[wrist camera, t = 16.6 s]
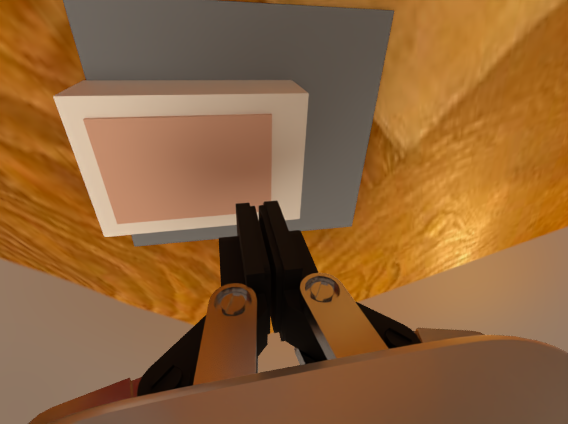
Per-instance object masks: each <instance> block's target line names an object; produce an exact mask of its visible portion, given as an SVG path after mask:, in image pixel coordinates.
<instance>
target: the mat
mask: <svg viewBox="0 0 568 424" xmlns="http://www.w3.org/2000/svg"><path fill="white" fill-rule="evenodd" d="M63 2H64V6H65V9H66V12H67V16H68V19H69V23H70V26H71V30H72V33H73V36H74V40H75V43H76V47H77V50H78V54H79V57H80V60H81V64H82V67H83V71H84V74H85V78H86V80H292V81H294V82H295V83H296V84H298V85H299V86H300V87H301V88H303V89H304V90H305V91H306V92H308V93H309V98H308V111H307V125H306V139H305V153H304V167H303V181H302V194H301V208H300V219H294V220H285V222H286V224H287V227H288V230H289V231H294V230H300V231H306V230H317V229H327V228H338V227H349V226H352V222H353V217H354V212H355V207H356V202H357V196H358V191H359V186H360V181H361V176H362V171H363V166H364V161H365V156H366V151H367V146H368V141H369V136H370V131H371V126H372V121H373V116H374V111H375V106H376V101H377V96H378V90H379V85H380V80H381V75H382V70H383V65H384V60H385V55H386V50H387V45H388V40H389V35H390V30H391V25H392V20H393V15H394V11H392V10H375V9H357V8H339V7H322V6H304V5H287V4H269V3H251V2H234V1H216V0H63ZM231 236H237V225H229V226H218V227H208V228H197V229H186V230H175V231H164V232H154V233H143V234H132V239H133V242H134V246H145V245H155V244H166V243H177V242H188V241H198V240H209V239H219V238H221V237H231Z"/></svg>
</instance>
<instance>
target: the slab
mask: <svg viewBox="0 0 568 424" xmlns="http://www.w3.org/2000/svg"><path fill="white" fill-rule="evenodd" d="M53 97H54V100H55V103H56V106H57V108H58V111H59V114H60V117H61V119H62V122H63V125H64V128H65V130H66V133H67V136H68V138H69V141H70V144H71V147H72V149H73V152H74V155H75V158H76V160H77V163H78V166H79V168H80V171H81V174H82V177H83V179H84V182H85V185H86V188H87V190H88V193H89V196H90V199H91V201H92V204H93V207H94V209H95V212H96V215H97V218H98V220H99V223H100V226H101V229H102V231H103V234H104V237H110V236H121V235H132V234H143V233H154V232H164V231H175V230H186V229H197V228H208V227H218V226H229V225H237V223H236V204H237V203H250V206H255V208H256V212H257V216H258V220H259V205H263V203H264V201H278V203H279V206H280V208H281V211H282V214H283V216H284V219H285V220H294V219H300V208H301V194H302V181H303V167H304V153H305V139H306V125H307V111H308V98H309V93H308V92H306V91H305V90H304V89H303V88H301V87H300V86H299V85H298V84H296V83H295V82H294V81H292V80H83V81H81V82H79V83H77V84H75V85H74V86H72V87H70V88H68V89H66V90H64V91H62V92H60V93H58V94H57V95H55V96H53Z"/></svg>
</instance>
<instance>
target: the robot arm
mask: <svg viewBox="0 0 568 424" xmlns="http://www.w3.org/2000/svg"><path fill="white" fill-rule="evenodd" d="M236 223H237V236H231V237H221V238H219V253H220V274H221V287H220V288H218V289H217V290H215V292H214V293H213V294H212V295H211V297H210V300H209V304H208V309H207V314H206V316H205V317H203V318H202V319H201V320H200V321H199V322H198V323H197V324H196V325H195V326H194V327H193V328H192V329H191V330H190V331H188V332H187V333H186V334H185V335H184V336H183V337H182V338H181V339H180V340H179V341H178V342H177V343H176V344H174V345H173V346H172V347H171V348H170V349H169V350H168V351H167V352H166V353H165V354H164V355H163V356H162V357H160V359H158V360H157V361H156V362H155V363H154V364H153V365H152V366H151V367H150V368H149V369H148V370H147V371H146V372H145V374H144V375H143V376H142V377H141V378H138V379H135V380H133V381H131V380H130V378H128V379H125V380H122V381H120V382H117V383H115V384H112V385H110V386H107V387H104V388H101V389H99V390H96V391H94V392H91V393H88V394H86V395H83V396H81V397H78V398H75V399H73V400H70V401H67V402H65V403H62V404H59V405H57V406H54V407H52V408H50V409H48V410H46V411H44V412H42V413H40V414H39V415H37V416H36V417H35V418H34V419H33V420H32V421H30V422H29V423H28V424H568V353H567V352H566V351H564V350H562V349H560V348H557V347H555V346H553V345H550V344H547V343H543V342H540V341H537V340H532V339H526V338H521V337H516V336H504V335H484V334H482V333H480V332H475V331H466V330H465V331H464V330H448V329H429V328H417V329H416V331H412V330H411V329H410V328H408V327H407V326H405V325H403V324H401V323H399V322H397V321H395V320H393V319H391V318H389V317H386V316H384V315H382V314H380V313H378V312H376V311H374V310H372V309H370V308H368V307H366V306H364V305H362V304H360V303H357V302H355V301H354V299H353V298H352V297H351V295H350V294H349V292H348V291H347V290H346V288H345V287H344V285H343V284H342V283H341V282H340V281H339V280H338V279H337V278H335V277H334V276H332V275H329V274H326V273H318V271H317V268H316V266H315V264H314V261H313V259H312V257H311V254H310V252H309V250H308V247H307V245H306V243H305V240H304V238H303V236H302V233H301V231H300V230H294V231H289V230H288V227H287V224H286V222H285V219H284V216H283V214H282V211H281V208H280V206H279V203H278V201H264V203H263V205H259V220H258V216H257V212H256V208H255V206H250V203H237V204H236ZM270 316H271V321H272V326H273V330H274V333H277V332H279V333H280V338H281V341H286V342H288V343H289V344H291V345H293V346H294V347H295V348H294V350H295V354H296V356H297V359H298V361H299V363H300V365H299V366H293V367H288V368H283V369H277V370H272V371H266V372H261V373H258V356H259V355H260V353H261V352H262V351H263V349H264V348H265V347H266V346H267V334H270Z"/></svg>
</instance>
